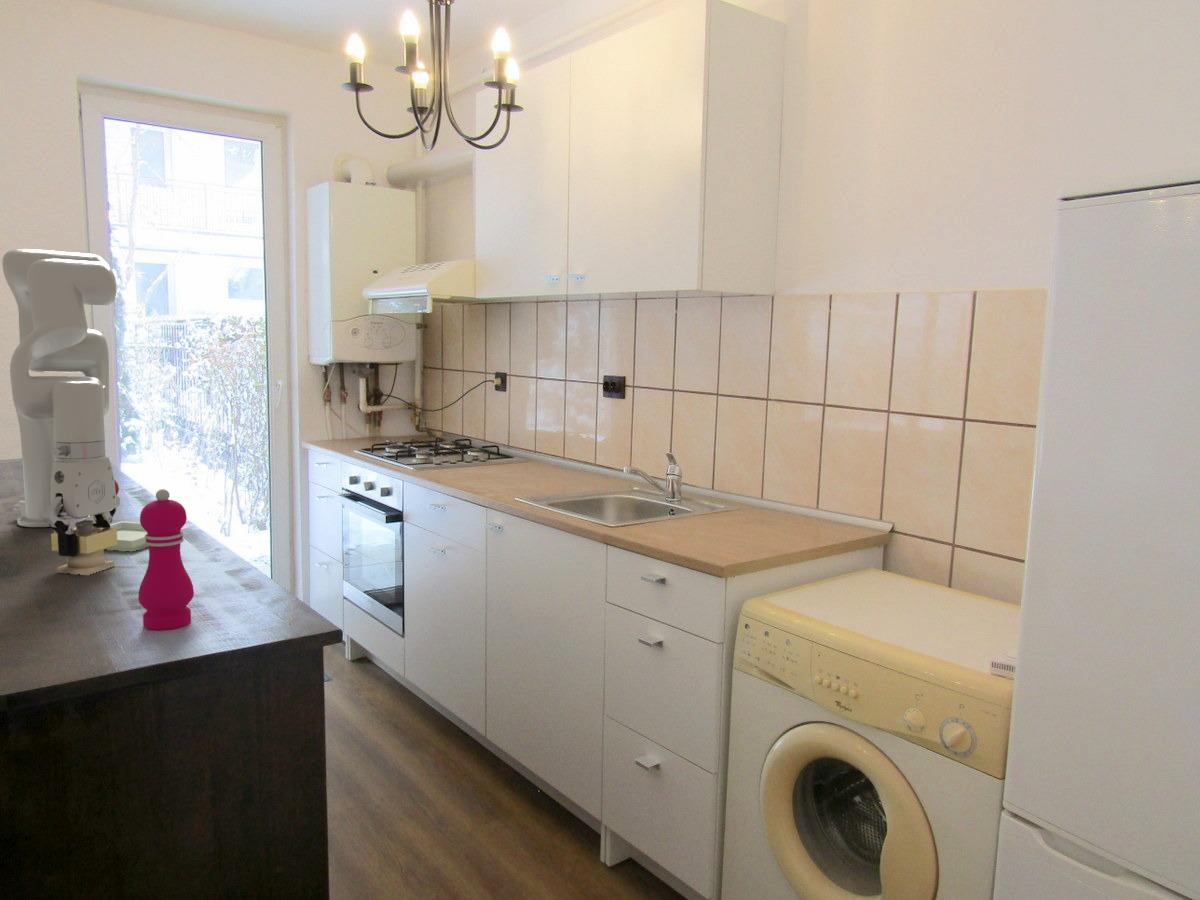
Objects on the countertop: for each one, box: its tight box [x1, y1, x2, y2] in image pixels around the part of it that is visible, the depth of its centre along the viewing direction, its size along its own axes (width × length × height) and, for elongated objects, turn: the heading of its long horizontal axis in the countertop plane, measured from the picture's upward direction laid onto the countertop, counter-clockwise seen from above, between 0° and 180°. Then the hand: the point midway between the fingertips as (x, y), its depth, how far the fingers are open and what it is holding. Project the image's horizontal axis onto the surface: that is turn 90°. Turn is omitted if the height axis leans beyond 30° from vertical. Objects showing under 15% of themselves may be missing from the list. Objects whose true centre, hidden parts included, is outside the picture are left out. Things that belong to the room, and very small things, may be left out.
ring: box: [50, 526, 117, 554], centre depth 149 cm, size 7×9×3 cm
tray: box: [104, 520, 182, 552], centre depth 169 cm, size 14×14×2 cm
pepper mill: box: [137, 488, 195, 631], centre depth 122 cm, size 7×7×20 cm
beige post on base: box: [57, 519, 115, 576], centre depth 149 cm, size 6×6×9 cm
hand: (85, 549), depth 149 cm, fingers closed on ring, 7 cm apart
